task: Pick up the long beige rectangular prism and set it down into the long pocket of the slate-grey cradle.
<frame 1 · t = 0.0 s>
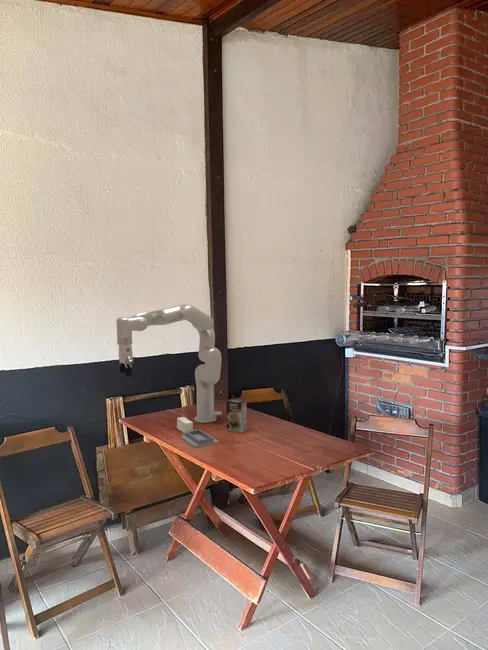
hand: (125, 373, 274), 31 cm above the table, tool pointing down, fingers open, 9 cm apart
long beige rectangular prism: (185, 431, 279), on the table
coffee box: (236, 430, 280), on the table
cradle: (199, 440, 263), on the table
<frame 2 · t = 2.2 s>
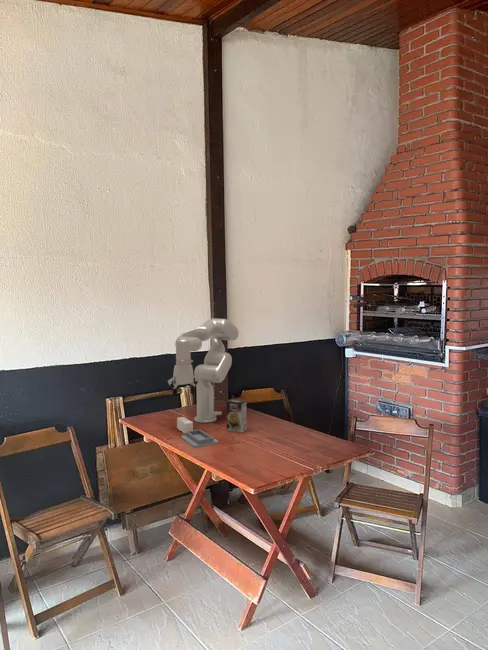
hand: (183, 394, 277), 19 cm above the table, tool pointing down, fingers open, 9 cm apart
nothing on the table moved.
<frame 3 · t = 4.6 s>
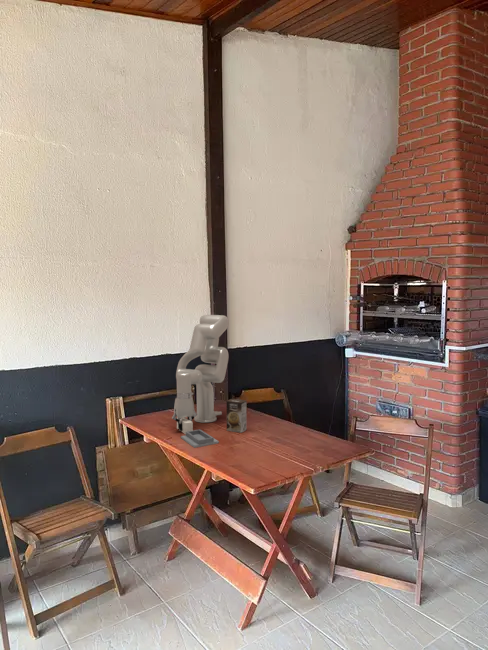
hand: (184, 429, 279), 1 cm above the table, tool pointing down, fingers closed on long beige rectangular prism, 4 cm apart
long beige rectangular prism: (184, 430, 279), on the table, touching gripper
everything else where it was.
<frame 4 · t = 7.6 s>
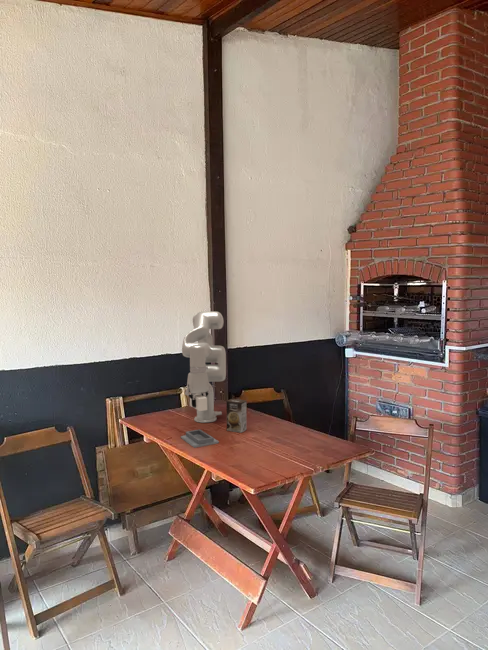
hand: (198, 406, 262), 18 cm above the table, tool pointing down, fingers closed on long beige rectangular prism, 4 cm apart
long beige rectangular prism: (198, 407, 262), point 17 cm above the table, touching gripper
everything else where it was.
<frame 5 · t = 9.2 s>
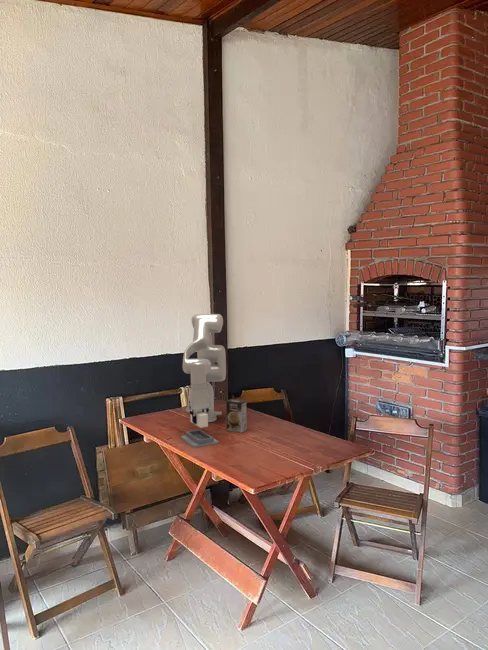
hand: (199, 422, 262), 9 cm above the table, tool pointing down, fingers closed on long beige rectangular prism, 4 cm apart
long beige rectangular prism: (199, 424, 262), point 8 cm above the table, touching gripper
everything else where it was.
when the fingers open (3 cm above the table, at t = 10.6 s): long beige rectangular prism drops 1 cm, resting on cradle.
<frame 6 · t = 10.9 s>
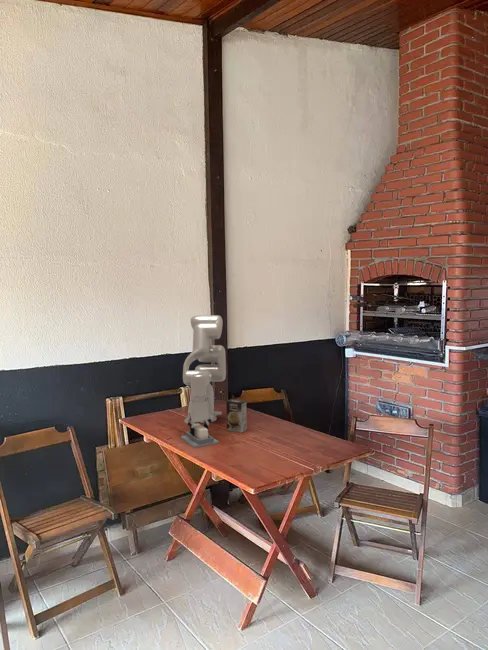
hand: (199, 433, 263), 4 cm above the table, tool pointing down, fingers open, 6 cm apart
long beige rectangular prism: (199, 438, 263), point 1 cm above the table, touching cradle
everything else where it was.
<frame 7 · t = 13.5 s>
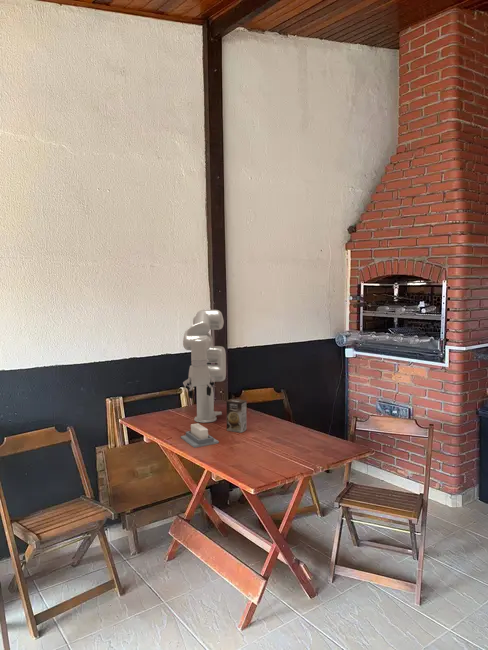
hand: (199, 396, 264), 22 cm above the table, tool pointing down, fingers open, 9 cm apart
nothing on the table moved.
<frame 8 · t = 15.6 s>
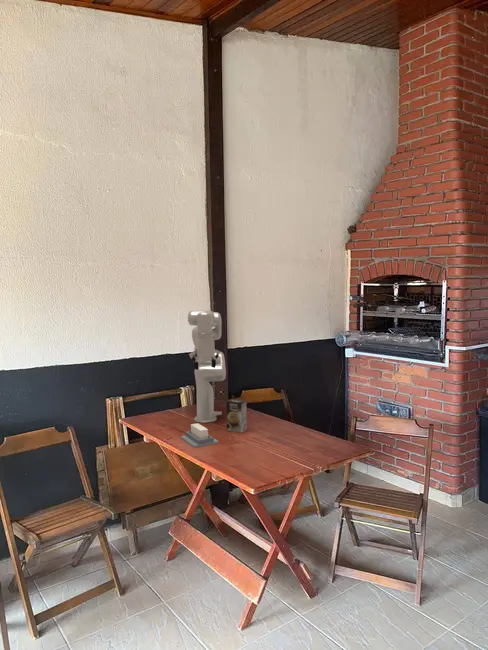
hand: (205, 368, 276), 33 cm above the table, tool pointing down, fingers open, 9 cm apart
nothing on the table moved.
at the end: long beige rectangular prism 0.1 cm off-centre on the cradle, point 1.0 cm above the cradle's base; long beige rectangular prism tilted 0°; the gripper is holding nothing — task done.
